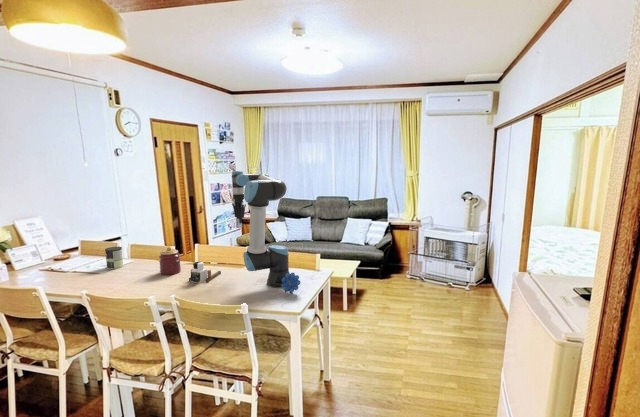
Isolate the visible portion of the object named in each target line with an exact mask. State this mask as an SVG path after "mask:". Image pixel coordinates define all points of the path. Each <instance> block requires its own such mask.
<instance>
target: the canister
mask: <svg viewBox="0 0 640 417" xmlns="http://www.w3.org/2000/svg"><path fill="white" fill-rule="evenodd" d="M159 254H160V255H159V256H158V258H159V261H158V263H159V272H160V275H162V276H163V275H164V276H171V275H175V274H178V273H181V270H182V268H181V258H180V253H179V250H178V249H175V248H172V247H171V246H168V247H166V249H163V250H162V251H160V253H159Z"/></svg>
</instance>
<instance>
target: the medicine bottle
mask: <svg viewBox="0 0 640 417" xmlns="http://www.w3.org/2000/svg"><path fill="white" fill-rule="evenodd" d="M192 265H193V268H192V269H194V270H192V271H191V270H190V277H191V281H190V282H191V283H195V284H202V283H204V282H206V279H207V278H208V274H207V271H208V268H205V267H204V265H205V264H204V262H202V261H196V262H194V263H193V264H192Z"/></svg>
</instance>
